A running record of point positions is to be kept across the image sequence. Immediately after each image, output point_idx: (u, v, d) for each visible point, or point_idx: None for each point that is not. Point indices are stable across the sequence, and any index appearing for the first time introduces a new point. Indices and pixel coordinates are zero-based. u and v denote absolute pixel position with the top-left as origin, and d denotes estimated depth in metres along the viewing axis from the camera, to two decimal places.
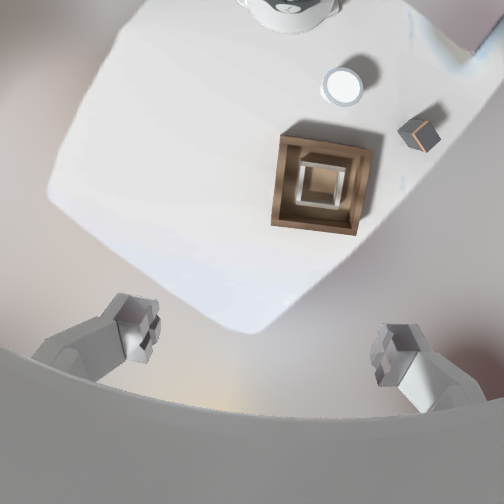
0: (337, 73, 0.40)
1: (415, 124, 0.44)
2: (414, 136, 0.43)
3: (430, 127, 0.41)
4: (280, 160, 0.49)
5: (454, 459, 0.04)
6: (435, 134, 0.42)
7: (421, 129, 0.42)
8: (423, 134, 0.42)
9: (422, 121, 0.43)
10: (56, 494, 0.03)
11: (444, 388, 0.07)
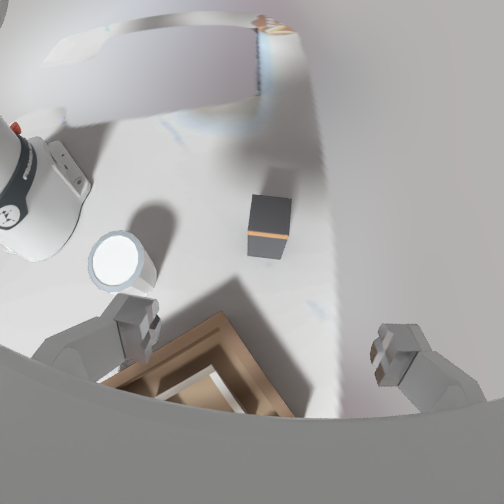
0: (98, 250, 0.30)
1: None
2: (253, 233, 0.30)
3: (262, 200, 0.31)
4: None
5: (454, 459, 0.04)
6: (277, 201, 0.30)
7: (252, 214, 0.30)
8: (260, 217, 0.30)
9: None
10: (56, 494, 0.03)
11: (444, 388, 0.07)
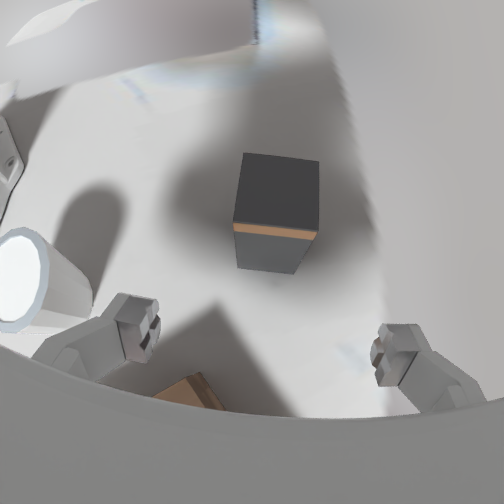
0: None
1: None
2: (245, 228, 0.15)
3: (262, 163, 0.15)
4: None
5: (454, 459, 0.04)
6: (292, 164, 0.15)
7: (241, 190, 0.15)
8: (260, 195, 0.14)
9: None
10: (56, 494, 0.03)
11: (444, 388, 0.07)
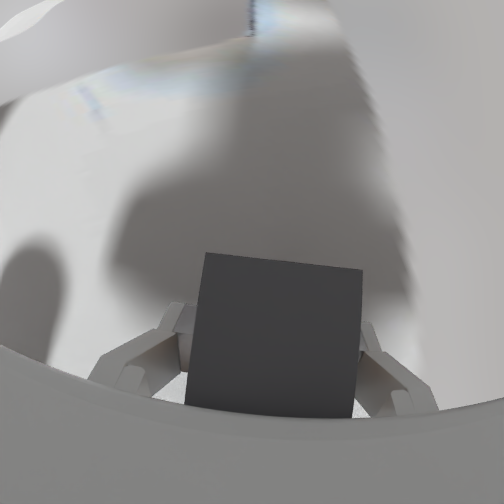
0: None
1: None
2: None
3: (246, 276, 0.08)
4: None
5: (454, 459, 0.04)
6: (307, 282, 0.07)
7: (200, 346, 0.07)
8: (238, 361, 0.07)
9: None
10: (56, 494, 0.03)
11: None
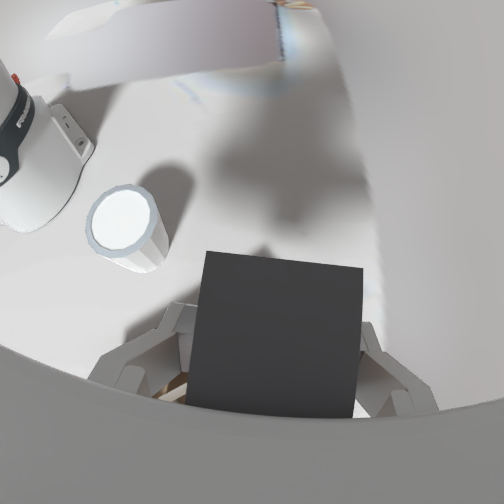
0: (100, 208, 0.24)
1: None
2: None
3: (247, 275, 0.07)
4: None
5: (454, 459, 0.04)
6: (308, 280, 0.07)
7: (200, 344, 0.07)
8: (238, 359, 0.07)
9: None
10: (56, 494, 0.03)
11: (392, 392, 0.07)
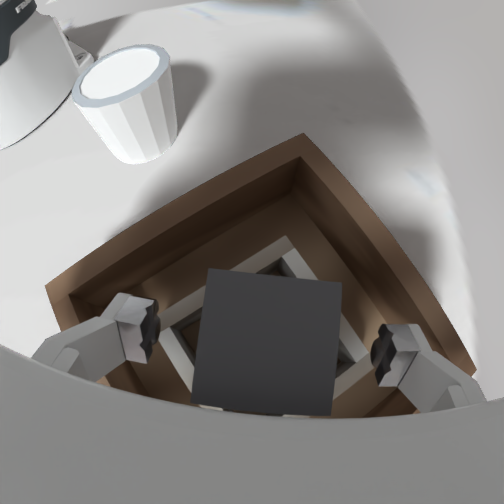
0: (95, 68, 0.16)
1: None
2: None
3: (242, 288, 0.09)
4: None
5: (454, 459, 0.04)
6: (294, 293, 0.09)
7: (204, 346, 0.08)
8: (235, 359, 0.08)
9: None
10: (56, 494, 0.03)
11: (444, 388, 0.07)
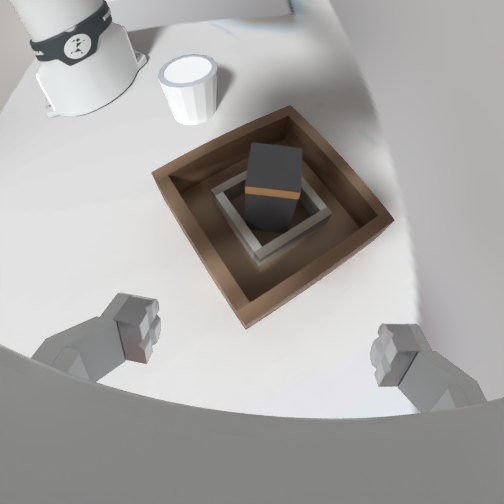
0: (170, 65, 0.29)
1: None
2: (252, 190, 0.22)
3: (264, 149, 0.23)
4: (173, 202, 0.25)
5: (454, 459, 0.04)
6: (284, 150, 0.22)
7: (250, 166, 0.22)
8: (262, 169, 0.22)
9: None
10: (56, 494, 0.03)
11: (444, 388, 0.07)
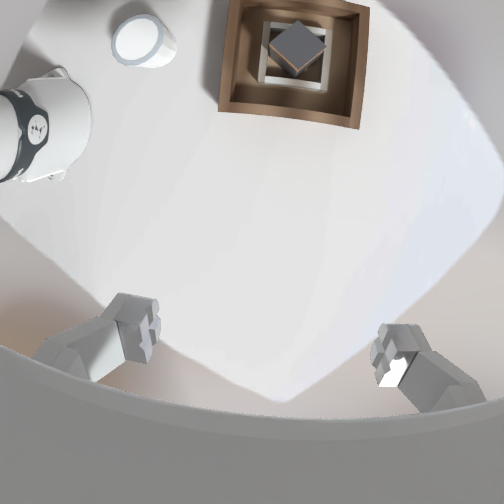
0: (119, 50, 0.26)
1: (279, 58, 0.27)
2: (301, 67, 0.25)
3: (280, 40, 0.24)
4: (254, 111, 0.31)
5: (454, 459, 0.04)
6: (291, 30, 0.23)
7: (287, 57, 0.24)
8: (295, 52, 0.24)
9: (271, 49, 0.26)
10: (56, 494, 0.03)
11: (444, 388, 0.07)
